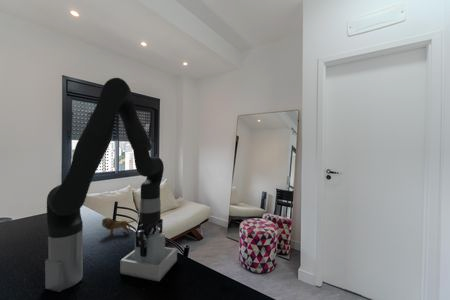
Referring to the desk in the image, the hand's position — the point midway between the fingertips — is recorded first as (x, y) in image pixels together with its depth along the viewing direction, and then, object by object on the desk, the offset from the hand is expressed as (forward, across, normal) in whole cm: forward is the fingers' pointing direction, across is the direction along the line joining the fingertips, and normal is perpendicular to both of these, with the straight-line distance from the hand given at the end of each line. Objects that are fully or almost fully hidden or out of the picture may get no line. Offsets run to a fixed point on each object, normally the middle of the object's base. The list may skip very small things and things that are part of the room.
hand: (150, 250), depth 79 cm
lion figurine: (+7, +20, +34) cm, 40 cm away
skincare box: (+4, 0, 0) cm, 4 cm away
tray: (+6, 0, 0) cm, 6 cm away
